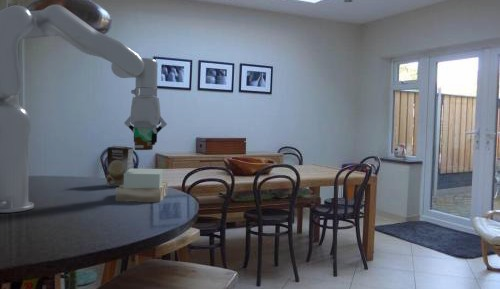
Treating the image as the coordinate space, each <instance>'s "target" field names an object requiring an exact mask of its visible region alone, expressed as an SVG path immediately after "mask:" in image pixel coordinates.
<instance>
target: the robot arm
mask: <svg viewBox="0 0 500 289" xmlns="http://www.w3.org/2000/svg"><path fill="white" fill-rule="evenodd" d="M53 36H58V37H59V38H61V39H62V40H64V41H65V42H67V43H69V44H70V45H71V46H72V47H74V48H75V49H78V51H80V52H81V53H84V54H86V55H89V56H94V57H98V58H101V59H103V60H106V61H108V62H110V63H111V64H110V66H111V71H112V74H114V75H115V76H116V77H117V78H120V79H130V78H132V79H133V78H135V87H134V89H131V92H130V93H131V94H133V95H134V96H133V97H132V100H131V106H130V115H129V117H128V118H127V119H126V120H125V121H124V126H126V127H128V128H129V129H130V131H131V132H132V133H133V134H134V121H142V122H151V124H152V125H154V126H155V128H153V134H152V145H153V146H155V145H156V143H157V142H158V133H159V132H161V130H162V129H164V128H165V127H166V126H167V125H168V123H167V122H166V121H165V120H164V118H163V117H162V116H161V106H160V105H161V104H160V98H159V97H158V67H159V66H158V62H157V60H156V59H154V58H148V57H141V56H140V55H139V54H138V53H137V52H136V51H134V50H133V49H131V48H130V47H128V46H127V45H125V44H124V43H122V42H120V41H119V40H117V39H116V38H113V37H111V36H108V35H106V34H105V33H103V32H100V31H98V30H97V29H95V28H94V27H92V26H91V25H89V24H88V22H85V21H84V20H83V19H81V18H80V17H78V16H77V15H76V14H74V13H73V12H71V11H70V10H69V9H67V8H66V7H64V6H63V5H60V4H51V5H49V6H47V7H45V8H43V9H39V10H31V11H30V10H29V9H28V8H27V7H25V6H24V5H23V6H22V5H17V4H15V5H10V6H8V7H5V8H3V9H1V10H0V213H2V214H3V213H4V214H5V213H17V212H18V213H20V212H25V211H29V210H31V209H33V208H35V204H34V202H31V201H29V143H30V142H29V141H30V140H29V139H30V132H31V118H30V115H29V113H28V111H27V110H26V109H25V107H23V106H22V105H20V98H19V97H20V96H19V95H20V94H21V92H22V91H23V78H22V73H21V72H22V71H21V67H20V66H21V65H20V60H19V43H20V40H28V39H41V38H47V37H53ZM133 142H134V143H135V140H134V139H133Z"/></svg>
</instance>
